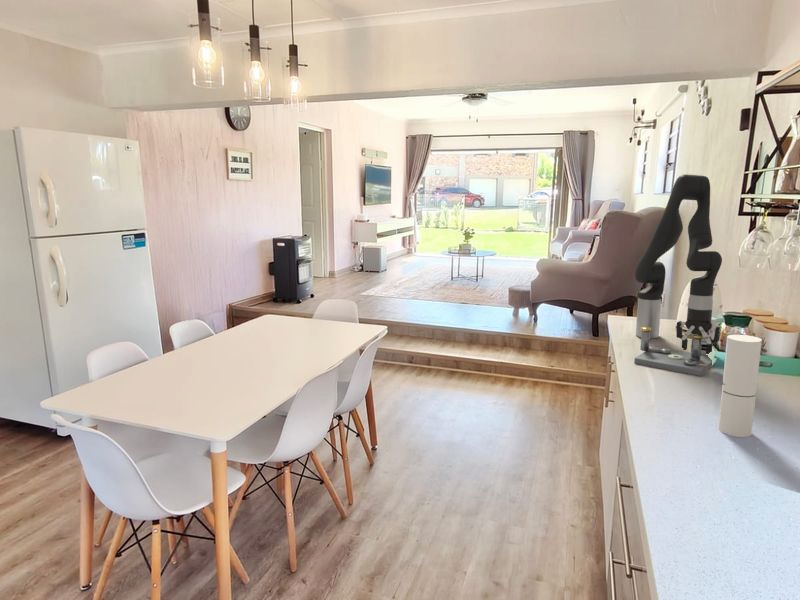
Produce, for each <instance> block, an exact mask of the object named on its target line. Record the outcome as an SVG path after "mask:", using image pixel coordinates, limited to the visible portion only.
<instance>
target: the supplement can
mask: <svg viewBox="0 0 800 600" xmlns="http://www.w3.org/2000/svg"><path fill="white" fill-rule="evenodd" d="M711 324H712V325H713V326H719V321H718V318H717V317H714V316H712V318H711ZM709 333H710V335H711V338H712V339H714V335H715V332H714V331H713V329H712V328H711V329H710V330H709ZM707 334H708V333H707ZM707 344H708V343H707V341H706V339H705V338H704V336H703V338H702V345H701V354H702V355H706V348H707ZM691 349H692V342H691V344H690V350H691Z"/></svg>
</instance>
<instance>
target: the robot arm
mask: <svg viewBox="0 0 800 600" xmlns="http://www.w3.org/2000/svg"><path fill="white" fill-rule="evenodd" d="M684 200H685V201H696V202H697V204H696V205H697V208H696V211H695V212H694V214H693V215H692V217H691V218H690V220H689V222H688V226H687V234H688V239H689V241H688V242H689V243H688V244H689V247H688V254H687V258H686V267H687V268H688V270H690V271H691V272H705V274H704V275H703V276H699V277H694V278H692V279H691V280H690V286H689V287H690V288H689V295H688V302H687V313H686V321H682V320H679V321H677V322H676V332H675V333H676V338H679V339H681V348H682V351H687V350H688V342H689V340H688V338H689V336H690V335H692V334H694V335H695V334H697V335H701V336H702V335H703V336H704V338H705V339H706V341H707V343H708V344H707V348H706V354H709V353H710V352H712V346H713V343H719V342H720V337H721V333H722V332H721V331H722V326H721V325H718V326H713V325H712V324H711V318H712V317H713V315H712V314H713V307H714V300H713V297H714V296H713V293H714V284H715V282H716V278H717V276H718V273H719V270H720V269H721V266H722V263H723V258H722V255H721V254H720V253H719V252H718V251H715V250H712V251H711V250H710V251H705V250H704V249H708V248H709V247H711V246H712V244H713V236H712V235H713V234H712V230H711V224H710V223H711V221H710V210H711V207H710V206H711V182H710V179H709V177H707V176H705V175H698V174H681V175H679V176H678V177H677V178H676V180H675V182H674V184H673V186H672V189H671V192H670V196H669V198H668V200H667V204H666V206H665V209H664V212H663V214H662V215H661V217H660V220H659V222H658V224H657V226H656V228H655V231H654V233H653V235H652V237H651V240H650V241H649V244H648V246H647V248H646V250H645V252H644V253H643V255H642V256H641V258H640V260H639V262H638V263H637V265H636V268H635V271H634V278H635V280H636V282H637V283H638V284H639V283H640V284H648V286H646V288H643V289H641V290H639V291H638V295H637V310H636V323H635V324H636V326H635V336H636V337H638V338H641V331H642V330H641V327H649V328H651V331H650V339H658V338H659V337H660V326H661V325H660V323H661V313H662V312H661V308H662V296H663V294H664V288H665V281H666V273H667V272H666V266H665V264H664V263H663V262H661V261H658V260H659V259H660V258H661V257H662V256H664V254H666V253H667V252H669V251H670V250H671V249H672V248H673V247H675V246H676V244H677V243H678V241H679V239H680V237H681V234H682V232H683V229H684V227H683V226H684V224H683V221H682V217H681V214H680V206H681V203H682V202H683V201H684ZM700 250H702V251H700ZM703 250H704V251H703ZM684 327H686V329H687V330H686V332H685V333H684V334H683V328H684ZM711 328H712V329H713V331H714V332H715V335H714V339H712V338H711V335H710V333H709V330H710V329H711ZM707 333H708V334H707Z"/></svg>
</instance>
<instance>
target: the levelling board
mask: <svg viewBox="0 0 800 600" xmlns="http://www.w3.org/2000/svg"><path fill="white" fill-rule="evenodd" d="M651 348H657V349H660V348H661V347H659V346H651ZM669 349H670V350H671V354H662V353H659V352H657V351H643V352H642V353H641V354H639V355H638V356H636V357H634V361H633V363H634V364H636V363H638V364H637V365H641V364H642V366H645V367H653V368H658V369H662V370H668V371H673V372H677V373H682V372H683V373H684V374H687V373H688V375H694V376H698V377H702V376H703V375H705V373H706V372H708V370H710V369H711V368H712V367H713V366H712V360H711V359H710V358H709V357H708V355H702V354H701V357H700V359H699V360H696V365H695V366H688V365H685V364H683V360H684V359H690V358H691V351H690V352H688V351H685V350H678V349H672V348H669ZM711 366H712V367H711Z"/></svg>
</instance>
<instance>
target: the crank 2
mask: <svg viewBox="0 0 800 600" xmlns="http://www.w3.org/2000/svg"><path fill="white" fill-rule="evenodd" d="M702 338H703V335H702V336H701V335H697V334H695V335H694V334H692V333H691V343H692V349H691V348H690V353H691V358H690V359H684V360H683V364H685V365H688V366H695V365H696V360H699V359H700V357H701V345H702Z"/></svg>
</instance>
